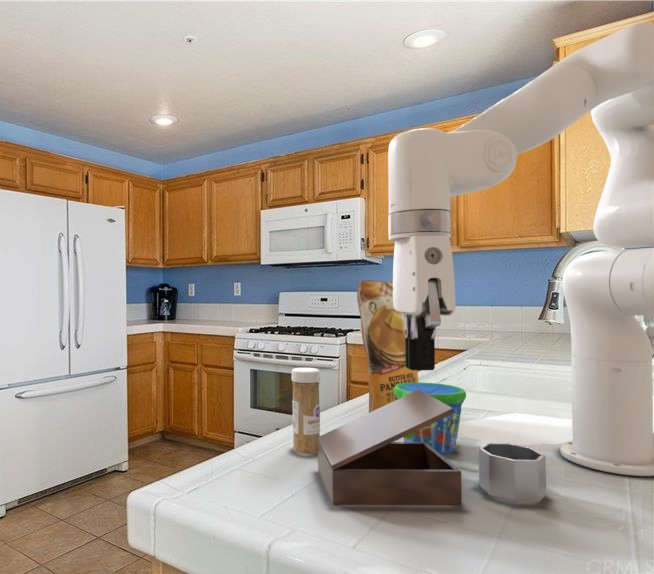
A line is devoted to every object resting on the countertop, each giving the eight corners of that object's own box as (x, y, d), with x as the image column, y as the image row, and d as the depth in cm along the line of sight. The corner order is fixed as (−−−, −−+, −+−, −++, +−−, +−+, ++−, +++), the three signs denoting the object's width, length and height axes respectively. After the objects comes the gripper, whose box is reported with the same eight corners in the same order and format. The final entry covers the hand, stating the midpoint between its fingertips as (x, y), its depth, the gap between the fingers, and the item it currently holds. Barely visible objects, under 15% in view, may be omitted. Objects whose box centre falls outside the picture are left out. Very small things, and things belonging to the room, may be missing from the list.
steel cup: (524, 484, 66) (523, 443, 66) (556, 507, 59) (555, 461, 59) (472, 483, 66) (471, 442, 66) (498, 506, 59) (497, 460, 59)
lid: (421, 392, 69) (419, 389, 69) (455, 412, 58) (453, 408, 58) (318, 441, 70) (316, 437, 70) (333, 470, 59) (331, 465, 59)
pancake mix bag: (346, 421, 97) (345, 280, 97) (405, 407, 108) (403, 280, 108) (374, 429, 92) (373, 279, 92) (433, 413, 103) (431, 279, 103)
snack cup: (429, 434, 88) (428, 377, 88) (488, 450, 79) (487, 387, 80) (371, 450, 80) (370, 388, 80) (429, 470, 71) (429, 399, 71)
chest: (426, 474, 69) (426, 442, 69) (462, 510, 58) (461, 471, 58) (318, 474, 70) (317, 441, 70) (332, 509, 59) (332, 470, 59)
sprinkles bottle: (317, 458, 76) (317, 371, 76) (289, 455, 78) (288, 370, 78) (323, 449, 81) (322, 367, 81) (295, 446, 82) (295, 366, 82)
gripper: (475, 219, 56) (476, 379, 56) (426, 234, 71) (427, 361, 71) (409, 220, 57) (410, 379, 57) (374, 235, 72) (375, 361, 71)
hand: (419, 368), depth 64 cm, fingers closed
